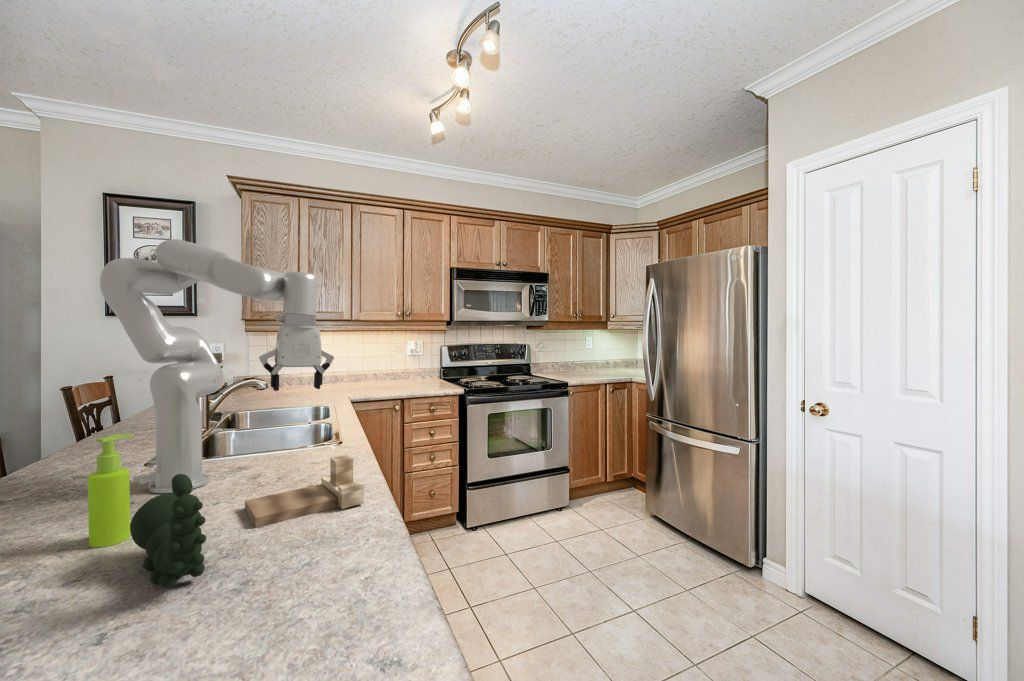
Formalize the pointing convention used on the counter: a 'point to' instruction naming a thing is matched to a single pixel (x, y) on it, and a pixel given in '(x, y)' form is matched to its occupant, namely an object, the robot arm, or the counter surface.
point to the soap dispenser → (109, 497)
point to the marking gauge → (344, 482)
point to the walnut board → (290, 505)
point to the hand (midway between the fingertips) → (296, 389)
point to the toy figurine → (171, 533)
